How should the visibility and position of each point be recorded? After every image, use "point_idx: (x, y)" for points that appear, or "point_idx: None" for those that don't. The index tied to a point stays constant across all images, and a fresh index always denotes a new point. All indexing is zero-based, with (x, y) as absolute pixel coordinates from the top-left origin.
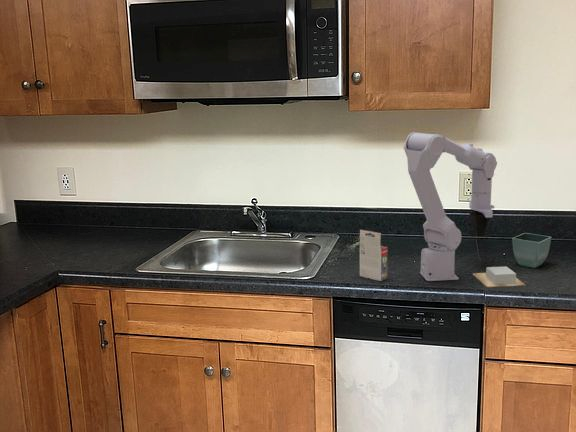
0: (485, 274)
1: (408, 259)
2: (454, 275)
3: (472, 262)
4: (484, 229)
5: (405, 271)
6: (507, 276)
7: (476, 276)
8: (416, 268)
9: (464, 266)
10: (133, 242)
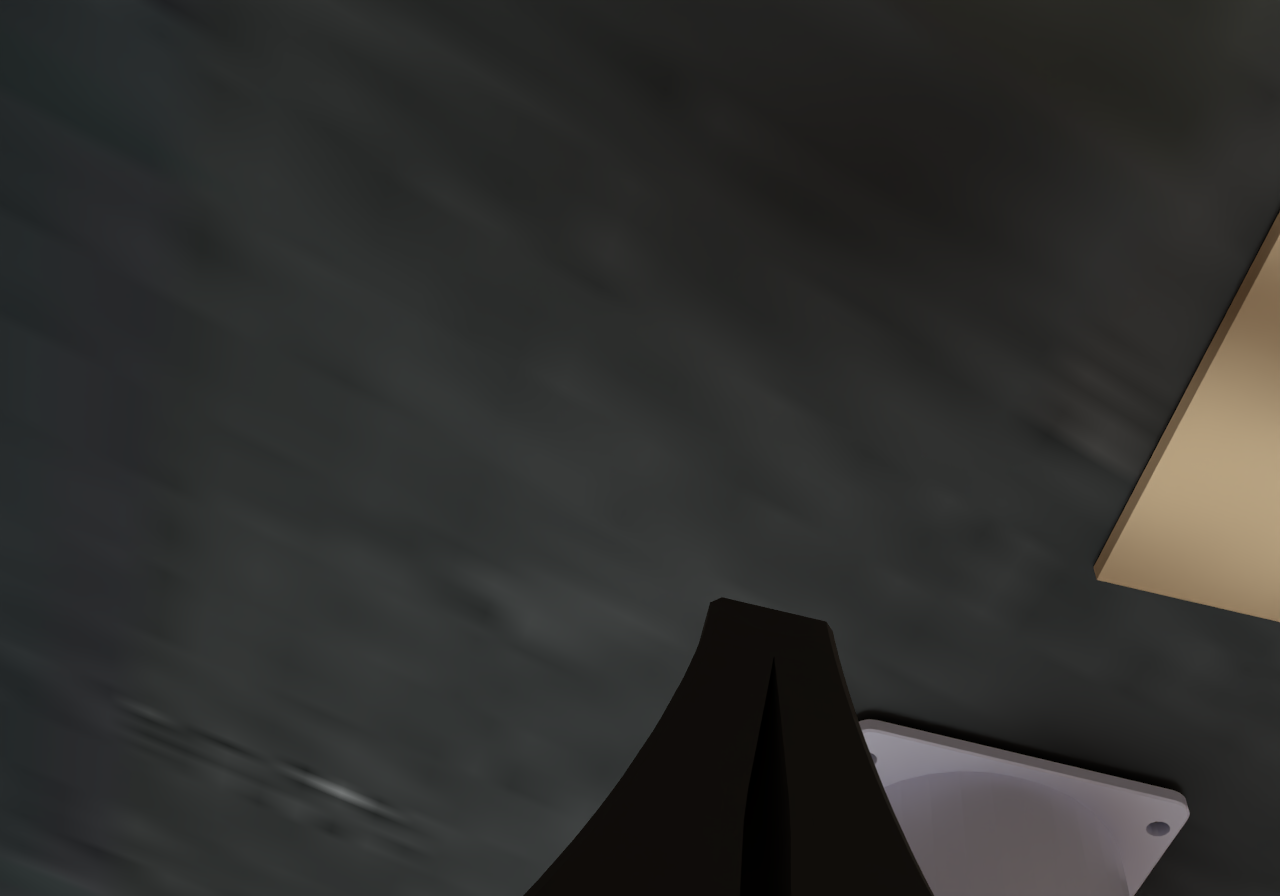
0: (1251, 465)
1: (262, 802)
2: (1072, 793)
3: (555, 255)
4: (858, 769)
5: None
6: None
7: (1247, 607)
8: None
9: (705, 459)
10: None
